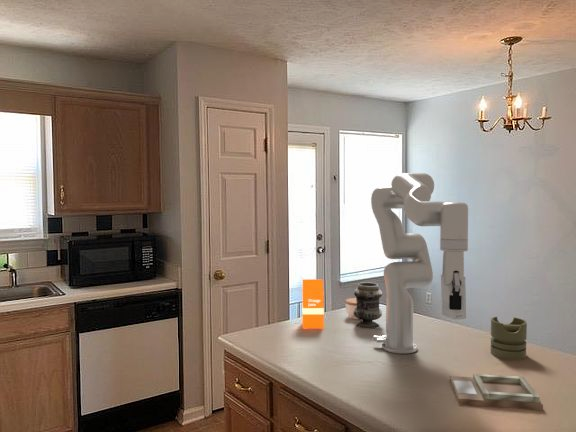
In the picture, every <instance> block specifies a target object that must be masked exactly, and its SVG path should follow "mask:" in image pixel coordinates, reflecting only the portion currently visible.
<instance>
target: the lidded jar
mask: <svg viewBox="0 0 576 432" xmlns="http://www.w3.org/2000/svg"><path fill="white" fill-rule="evenodd" d="M344 302H345V303H344V304H345V310H346V313H347V315H348V316H349V317H350V318H351V319H354V320H360V319H359V318H357V317H356V316H355V315H354V309H355V308H356V307H357V297H356V296H355V297H350V298H346V299H345V300H344Z"/></svg>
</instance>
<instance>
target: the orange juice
mask: <svg viewBox="0 0 576 432" xmlns="http://www.w3.org/2000/svg"><path fill="white" fill-rule="evenodd" d="M301 293H302V294H301V295H302V296H301V297H302V305H301V307H302V310H301V311H302V329H324V320H325V319H324V317H325V316H324V315H325V314H324V313H325V309H324V308H325V307H324V301H325V300H324V295H325V294H324V280H323V278H322V279H319V278H318V279H309V278H308V279H303V278H302V292H301Z"/></svg>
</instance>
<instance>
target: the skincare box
mask: <svg viewBox="0 0 576 432" xmlns="http://www.w3.org/2000/svg"><path fill="white" fill-rule="evenodd" d="M453 277H454V276H453ZM460 283H461V281H460ZM452 284H454V278H453V282H452ZM440 288H441V314H442V316H444V317H447V318H450V319H452V320H465V319H466V318H467V297H466V296H467V295H466V293H467V292H466V276H464V281H463V285H462V286H461V296H462V301H461V310H451V309H450V308H449V295H450V284H448V286H446V285H445V284H444V282H443V275H442V274H440Z"/></svg>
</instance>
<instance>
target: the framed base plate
mask: <svg viewBox="0 0 576 432" xmlns="http://www.w3.org/2000/svg"><path fill="white" fill-rule="evenodd" d="M449 383H450V386H451V388H452V391H453V394H454V396H455V399H456V402H457V404H458V405H466V406H468V405H469V406H479V407H491V408H493V407H494V408H495V407H496V408H508V409H519V410H520V409H522V410H534V411H543V410H544V404H543V403H542V401H541V398H540V395H539V394H538V393H537V392H536V390H535V389H534V388H533V387H532V385H531V384H530V383H529V382H528V380H527V379H526V377H524V376H519V375H518V376H517V375H516V376H515V375H514V376H513V375H502V374H501V375H500V374H485V373H482V374H481V373H472V376H470V377H468V376H456V375H455V376H454V375H449Z"/></svg>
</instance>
